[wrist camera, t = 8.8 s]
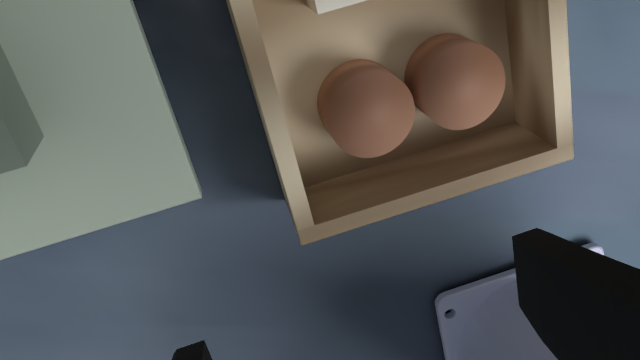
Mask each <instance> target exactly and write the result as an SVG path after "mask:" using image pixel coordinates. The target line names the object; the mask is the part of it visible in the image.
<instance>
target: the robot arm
mask: <svg viewBox="0 0 640 360" xmlns="http://www.w3.org/2000/svg"><path fill="white" fill-rule="evenodd" d="M512 240H513V251H514V261H515V268H514V269H511V270H508V271H505V272H502V273H499V274H496V275H493V276H490V277H487V278H484V279H481V280H478V281H475V282H472V283H469V284H466V285H463V286H460V287H457V288H454V289H451V290H448V291H445V292H443V293H441V294H439V295H438V296H437V298H436V300H435V308H436V313H437V319H438V324H439V330H440V335H441V340H442V346H443V351H444V356H445V360H640V269H638V268H635V267H632V266H630V265H627V264H624V263H622V262H619V261H617V260H614V259H611V258H609V257H606V256H604V251H603V249H602V248H601V247H600V246H599V245H598V244H596V243H588V244H585V245H582V246H580V245H577V244H575V243H573V242H570V241H568V240H566V239H563V238H561V237H558V236H556V235H554V234H551V233H549V232H546V231H543V230H541V229H538V228H535V229H532V230H529V231H527V232H524V233H521V234H518V235H515V236H512ZM449 309H452V310H451V311H450V312H449V313H447V314H445V312H446V311H447V310H449ZM172 360H212V358H211V355H210V353H209V351H208V348H207V346H206V343H205V341H204V340H203V341H200V342H197V343H194V344H191V345H188V346H185V347H182V348H179V349H177V350H176V351H175V353H174V355H173V358H172Z"/></svg>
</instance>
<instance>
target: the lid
mask: <svg viewBox="0 0 640 360" xmlns="http://www.w3.org/2000/svg"><path fill="white" fill-rule="evenodd" d="M200 198H202V191H201V186H200V184H199V181H198V178H197V175H196V173H195V170H194V167H193V164H192V162H191V159H190V156H189V153H188V151H187V148H186V145H185V142H184V140H183V137H182V134H181V132H180V129H179V126H178V123H177V121H176V118H175V115H174V112H173V110H172V107H171V104H170V101H169V99H168V96H167V93H166V90H165V88H164V85H163V82H162V79H161V77H160V74H159V71H158V68H157V66H156V63H155V60H154V57H153V55H152V52H151V49H150V47H149V44H148V41H147V38H146V36H145V33H144V30H143V27H142V25H141V22H140V19H139V16H138V14H137V11H136V8H135V5H134V3H133V0H0V260H2V259H5V258H8V257H12V256H15V255H18V254H21V253H25V252H28V251H31V250H34V249H38V248H41V247H44V246H47V245H51V244H54V243H57V242H60V241H64V240H67V239H70V238H73V237H77V236H80V235H83V234H86V233H90V232H93V231H96V230H100V229H103V228H106V227H109V226H113V225H116V224H119V223H122V222H126V221H129V220H132V219H135V218H139V217H142V216H145V215H148V214H152V213H155V212H158V211H161V210H165V209H168V208H171V207H174V206H178V205H181V204H184V203H187V202H191V201H194V200H197V199H200Z"/></svg>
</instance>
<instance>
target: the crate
mask: <svg viewBox="0 0 640 360" xmlns="http://www.w3.org/2000/svg"><path fill="white" fill-rule="evenodd" d="M226 3H227V6H228V10H229V13H230V16H231V20H232V23H233V26H234V30H235V33H236V36H237V40H238V43H239V47H240V50H241V53H242V57H243V60H244V63H245V67H246V70H247V73H248V77H249V80H250V83H251V87H252V90H253V93H254V97H255V100H256V104H257V107H258V110H259V114H260V117H261V120H262V124H263V127H264V130H265V134H266V137H267V140H268V144H269V147H270V151H271V154H272V157H273V161H274V164H275V167H276V171H277V174H278V177H279V181H280V184H281V187H282V191H283V194H284V197H285V201H286V204H287V206H288V209H289V212H290V215H291V217H292V220H293V223H294V226H295V228H296V231H297V234H298V237H299V239H300V242H301V245H302V246H303V245H306V244H309V243H312V242H315V241H318V240H321V239H324V238H328V237H331V236H334V235H337V234H340V233H343V232H346V231H349V230H353V229H356V228H359V227H362V226H365V225H368V224H371V223H374V222H378V221H381V220H384V219H387V218H390V217H393V216H396V215H399V214H402V213H406V212H409V211H412V210H415V209H418V208H421V207H424V206H427V205H431V204H434V203H437V202H440V201H443V200H446V199H449V198H452V197H456V196H459V195H462V194H465V193H468V192H471V191H474V190H477V189H480V188H484V187H487V186H490V185H493V184H496V183H499V182H502V181H505V180H509V179H512V178H515V177H518V176H521V175H524V174H527V173H530V172H533V171H537V170H540V169H543V168H546V167H549V166H552V165H555V164H558V163H562V162H565V161H568V160H571V159H574V148H573V128H572V108H571V87H570V67H569V47H568V27H567V7H566V0H226Z"/></svg>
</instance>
